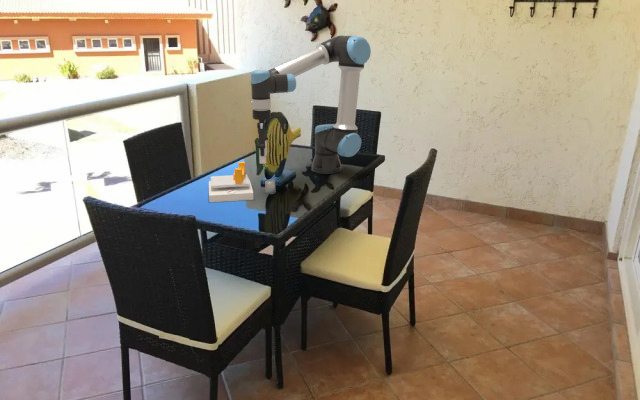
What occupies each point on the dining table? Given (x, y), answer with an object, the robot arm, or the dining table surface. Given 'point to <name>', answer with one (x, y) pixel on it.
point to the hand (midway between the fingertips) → (263, 159)
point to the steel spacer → (270, 187)
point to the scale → (229, 189)
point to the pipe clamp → (239, 173)
